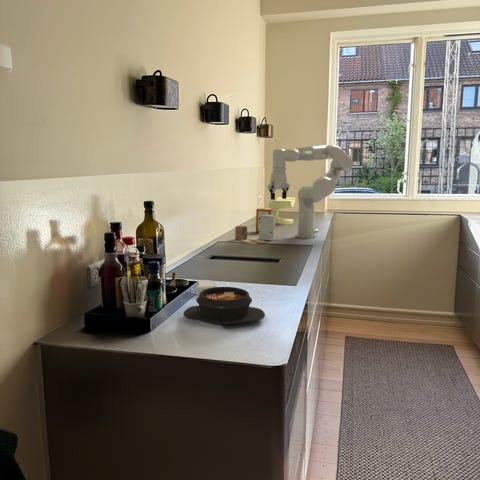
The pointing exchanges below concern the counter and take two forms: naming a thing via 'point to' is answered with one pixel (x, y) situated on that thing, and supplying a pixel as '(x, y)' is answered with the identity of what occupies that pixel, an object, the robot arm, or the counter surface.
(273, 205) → the pale yellow c-shaped piece
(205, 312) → the casserole
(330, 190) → the robot arm
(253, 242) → the brass plate
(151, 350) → the counter surface
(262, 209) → the baking soda box
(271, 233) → the skincare box
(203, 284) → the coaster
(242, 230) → the walnut block
